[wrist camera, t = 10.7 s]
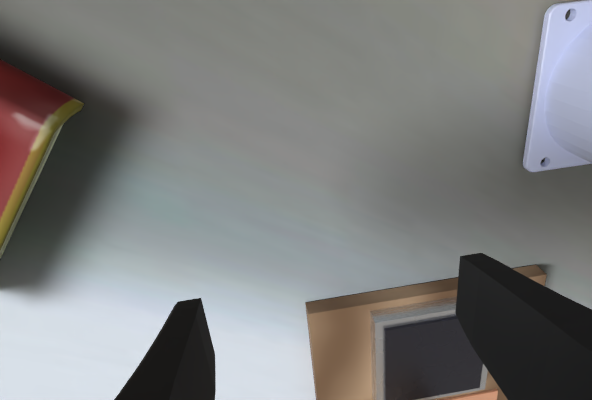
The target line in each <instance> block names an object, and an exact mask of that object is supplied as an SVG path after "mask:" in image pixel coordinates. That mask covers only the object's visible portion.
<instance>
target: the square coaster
mask: <svg viewBox="0 0 592 400" xmlns="http://www.w3.org/2000/svg"><path fill="white" fill-rule="evenodd" d="M497 395H498V390H497V389H491V390H486V391H481V392H475V393H470V394H464V395H459V396H454V397H448V398H443V399H437V400H497Z"/></svg>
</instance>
